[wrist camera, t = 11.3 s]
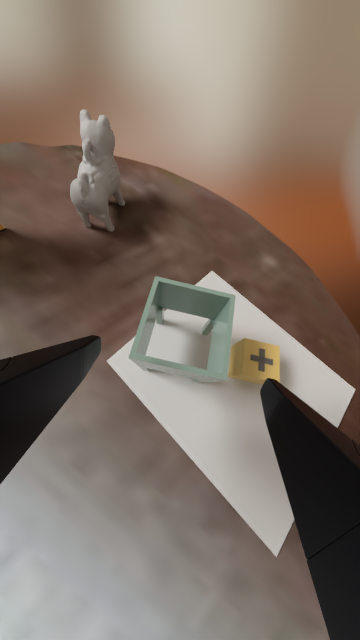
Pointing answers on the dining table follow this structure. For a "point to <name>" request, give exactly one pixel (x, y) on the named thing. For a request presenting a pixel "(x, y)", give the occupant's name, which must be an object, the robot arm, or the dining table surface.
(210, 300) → the green hollow square frame
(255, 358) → the plus sign cube
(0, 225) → the pancake mix bag
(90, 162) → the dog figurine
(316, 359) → the white rectangular sheet
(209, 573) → the dining table surface
